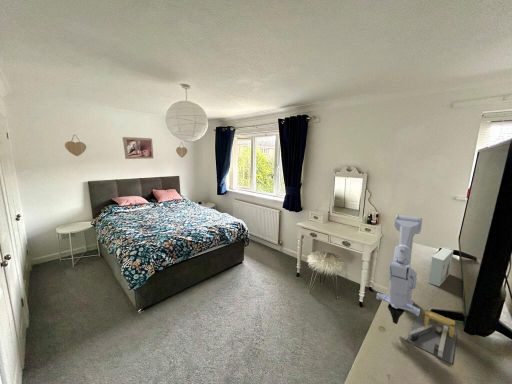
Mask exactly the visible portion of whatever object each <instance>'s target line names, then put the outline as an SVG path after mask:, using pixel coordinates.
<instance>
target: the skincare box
mask: <svg viewBox="0 0 512 384" xmlns="http://www.w3.org/2000/svg"><path fill="white" fill-rule="evenodd" d="M453 254H454V250H453V249H451V248H446V247H442V248H441V249H440V250H439V251H437V253H435V254H434V255H433V256H432V258H431V264H430V271H429V277H428V281H427V282H428V283H429V284H431V285H433V286H436V287H440V286H441V285H442V284H443V283H444V282H445V281H446V279H448V277H449V275H450V273H451V267H452V260H453V257H454V255H453Z"/></svg>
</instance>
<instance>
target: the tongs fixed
mask: <svg viewBox="0 0 512 384" xmlns="http://www.w3.org/2000/svg"><path fill="white" fill-rule="evenodd" d="M439 326H440V325H439ZM439 326H436V329H435V333H436V334H438V335H442V336H441V340H440V345H437V344H435V347H434V354H435V355H437V356H439V357H441V358H442V356H443V351H444V346H445V341H446V336H447V331H448V330H449V325H446V324H444V325H443V326H441V327H443V332H442V328H441V327H439ZM435 355H434V356H435ZM437 356H436V357H437ZM439 357H438V358H439ZM441 358H440V359H441Z"/></svg>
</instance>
